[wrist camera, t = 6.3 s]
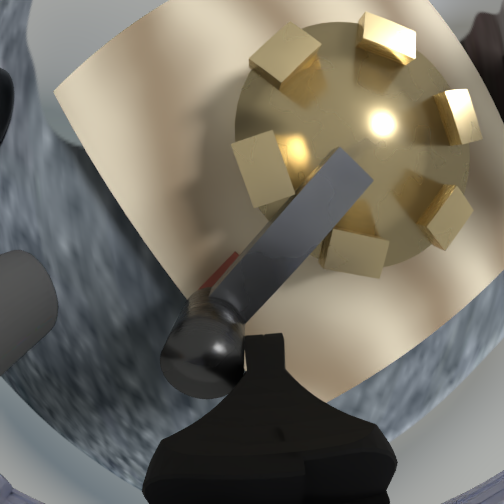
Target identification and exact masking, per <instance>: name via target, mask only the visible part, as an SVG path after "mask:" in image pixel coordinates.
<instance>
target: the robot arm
mask: <svg viewBox="0 0 504 504" xmlns="http://www.w3.org/2000/svg"><path fill="white" fill-rule="evenodd" d="M244 349H245V358H246V366H247V371H246V372H245V374H244V375H243V377H242V378H241V380H240V381H239V382H238V384H237V385H236V386H235V387H234V388H233V390H232V391H231V392H230V393H229V394H228V395H227V396H226V397H225V398H224V399H223V400H222V401H221V402H220V403H219V404H218V405H217V406H216V407H215V408H213V409H212V410H211V411H210V412H209V413H207V414H206V415H205V416H203V417H202V418H200V419H199V420H198V421H196V422H195V423H193V424H191V425H190V426H188V427H186V428H185V429H183V430H181V431H179V432H177V433H175V434H173V435H171V436H169V437H167V438H165V439H163V440H161V442H160V444H159V446H158V448H157V449H156V451H155V453H154V455H153V457H152V459H151V461H150V464H149V467H148V470H147V473H146V476H145V480H144V483H143V488H142V492H143V495H144V497H145V499H146V500H147V501H148V503H149V504H390V500H389V497H388V494H387V491H386V490H387V488H388V485H389V484H390V482H391V479H392V477H393V475H394V473H395V471H396V467H397V463H398V462H397V459H396V456H395V454H394V451H393V449H392V447H391V445H390V444H389V442H388V441H387V439H386V438H385V436H384V435H383V433H382V432H381V430H380V429H379V428H378V426H377V425H376V424H373V423H370V422H368V421H365V420H362V419H359V418H356V417H354V416H351V415H348V414H346V413H344V412H342V411H340V410H338V409H336V408H334V407H332V406H330V405H329V404H327V403H325V402H324V401H322V400H321V399H319V398H317V397H316V396H314V395H313V394H312V393H311V392H309V391H308V390H307V389H306V388H304V387H303V386H302V385H301V384H300V383H299V382H298V381H297V380H295V379H294V378H293V377H292V375H291V374H290V373H289V372H288V371H287V370H286V367H285V343H284V337H283V334H282V333H272V334H265V335H263V334H260V335H246V336H245V343H244ZM0 504H45V503H42V502H40V501H38V500H36V499H34V498H32V497H30V496H28V495H26V494H24V493H22V492H20V491H18V490H16V489H14V488H13V487H12V486H11V484H10V483H9V482H8V481H7V480H6V479H5V478H4V477H3V476H2V475H1V474H0ZM442 504H504V470H503V471H502V472H500V473H499V474H497V475H495V476H494V477H492V478H490V479H489V480H487V481H485V482H483V483H482V484H480V485H478V486H476V487H474V488H472V489H471V490H469V491H467V492H465V493H463V494H461V495H459V496H457V497H455V498H452V499H450V500H449V501H446V502H444V503H442Z"/></svg>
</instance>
